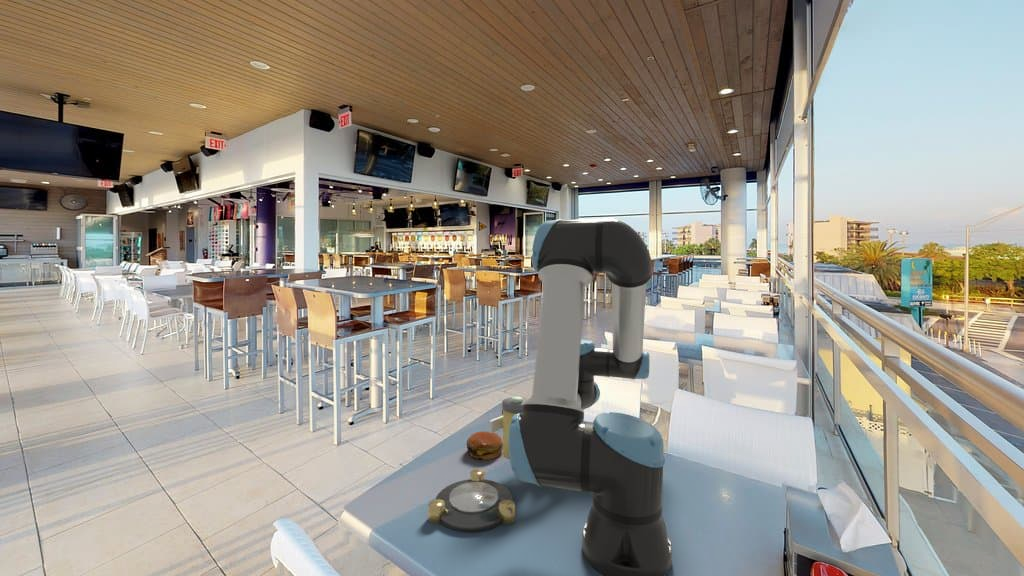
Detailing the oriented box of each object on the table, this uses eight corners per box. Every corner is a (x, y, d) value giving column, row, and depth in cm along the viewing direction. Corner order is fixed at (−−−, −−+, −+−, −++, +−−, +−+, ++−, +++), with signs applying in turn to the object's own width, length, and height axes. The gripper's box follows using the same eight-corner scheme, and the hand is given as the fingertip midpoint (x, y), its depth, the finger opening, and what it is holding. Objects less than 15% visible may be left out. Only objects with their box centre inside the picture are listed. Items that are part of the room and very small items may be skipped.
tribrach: (528, 517, 82) (528, 502, 82) (444, 547, 74) (443, 531, 74) (490, 477, 97) (490, 465, 97) (416, 498, 89) (416, 485, 88)
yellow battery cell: (536, 456, 95) (537, 400, 94) (510, 463, 92) (511, 405, 91) (521, 445, 101) (522, 392, 100) (496, 451, 98) (497, 396, 97)
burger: (494, 441, 116) (494, 425, 116) (508, 456, 108) (508, 439, 107) (461, 448, 112) (461, 432, 112) (472, 464, 104) (472, 446, 103)
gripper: (592, 428, 103) (536, 461, 86) (531, 409, 116) (471, 435, 99) (593, 398, 103) (536, 425, 86) (531, 383, 116) (471, 404, 98)
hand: (502, 431), depth 92 cm, fingers closed on yellow battery cell, 6 cm apart
